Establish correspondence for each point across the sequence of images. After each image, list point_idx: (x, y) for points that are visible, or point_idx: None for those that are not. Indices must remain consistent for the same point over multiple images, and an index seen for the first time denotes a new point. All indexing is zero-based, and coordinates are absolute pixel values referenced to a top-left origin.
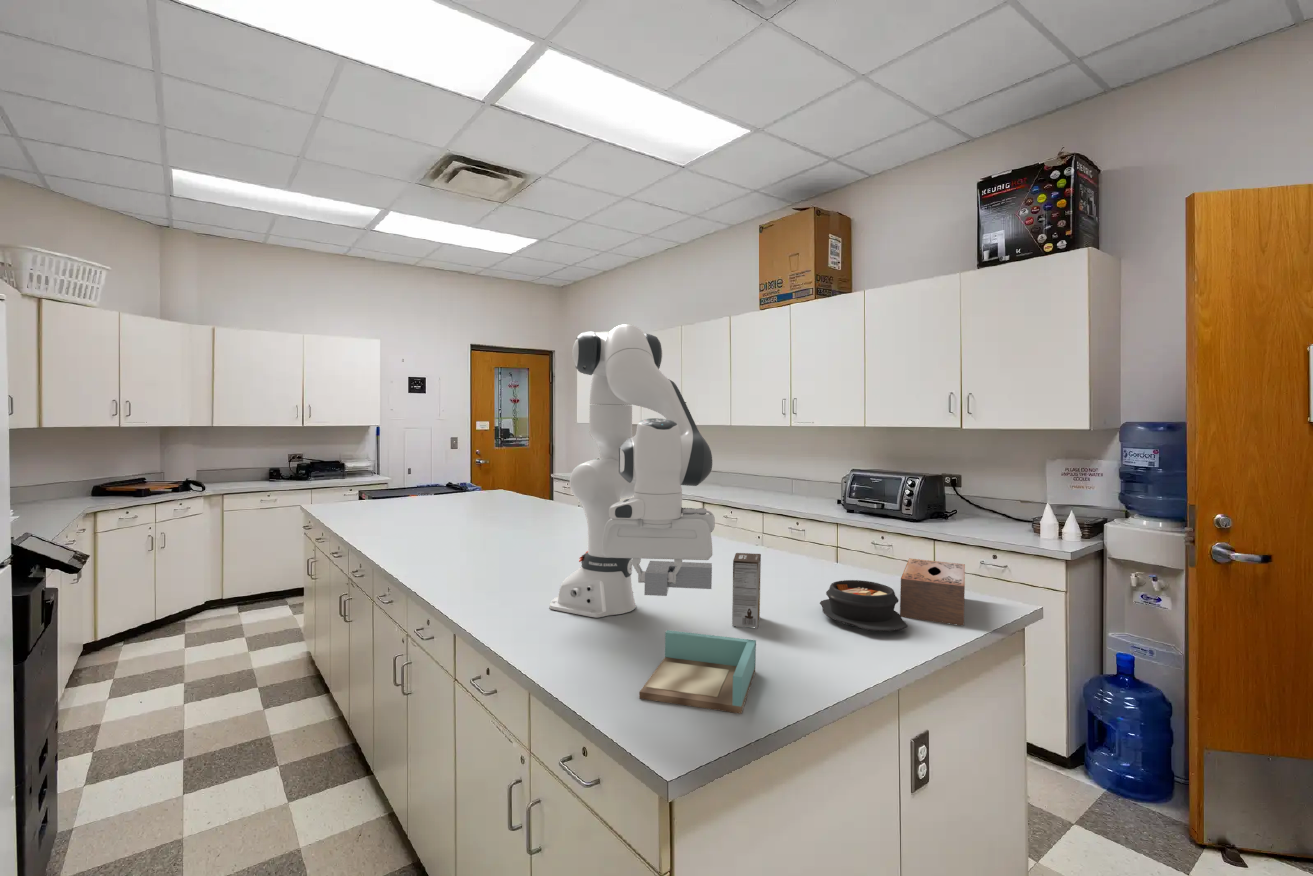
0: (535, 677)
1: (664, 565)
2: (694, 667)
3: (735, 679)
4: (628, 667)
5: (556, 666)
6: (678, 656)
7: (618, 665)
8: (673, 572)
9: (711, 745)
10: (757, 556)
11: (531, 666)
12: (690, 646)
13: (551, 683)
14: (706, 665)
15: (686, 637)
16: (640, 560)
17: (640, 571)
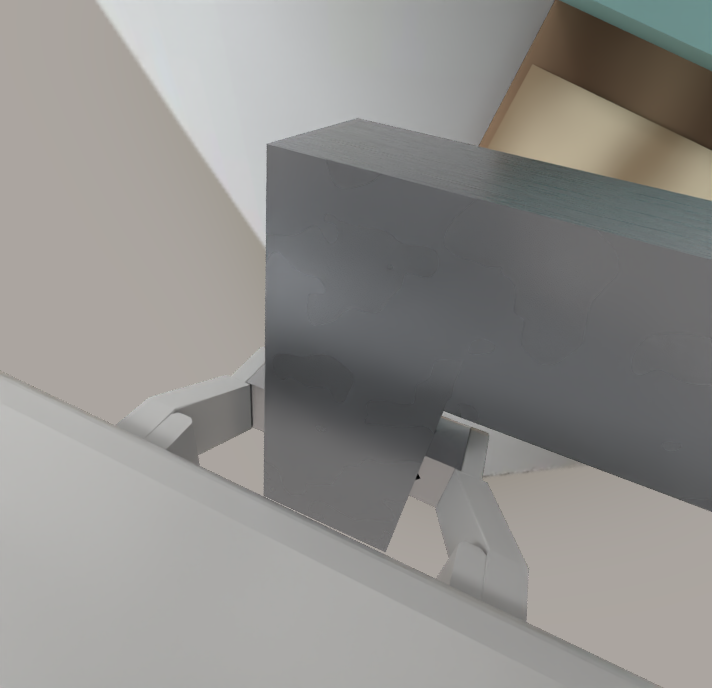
0: (177, 114)
1: (403, 380)
2: (633, 143)
3: None
4: (406, 48)
5: (199, 29)
6: (612, 23)
7: (374, 25)
8: (440, 524)
9: (508, 449)
10: None
11: (141, 27)
12: (673, 46)
13: (220, 156)
14: (704, 118)
15: (663, 35)
16: (187, 450)
17: (238, 434)
